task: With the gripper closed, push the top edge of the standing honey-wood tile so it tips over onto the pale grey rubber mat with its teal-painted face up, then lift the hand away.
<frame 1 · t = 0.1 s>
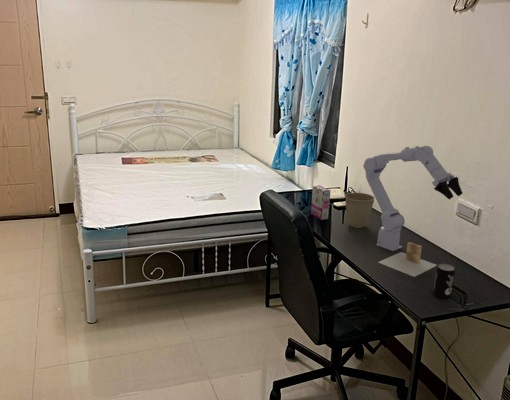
hand: (456, 196, 205), 32 cm above the table, tool tilted 50°, fingers open, 7 cm apart
wood tile: (412, 261, 219), resting on rubber mat
plant pot: (357, 225, 261), on the table
candy bar box: (319, 216, 274), on the table
beverage can: (441, 296, 190), on the table
rubber mat: (407, 264, 216), on the table
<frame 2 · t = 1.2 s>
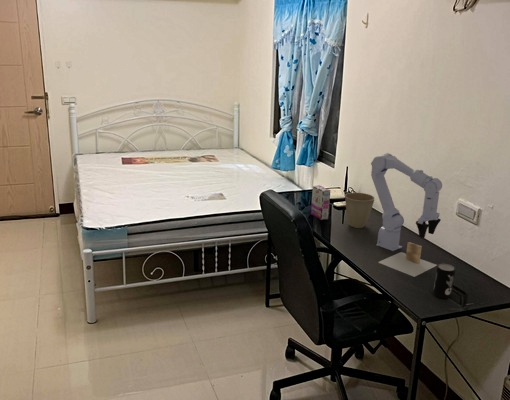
hand: (426, 235, 221), 10 cm above the table, tool pointing down, fingers open, 7 cm apart
nothing on the table moved.
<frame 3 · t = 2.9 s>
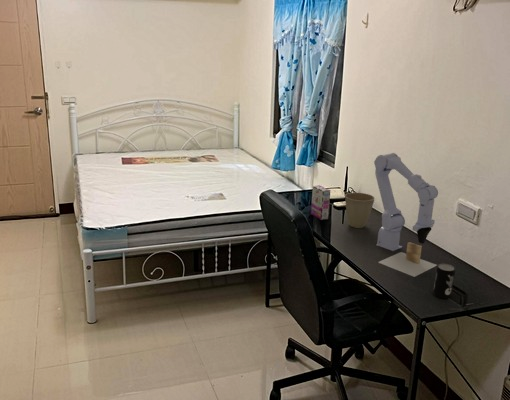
hand: (421, 242, 220), 8 cm above the table, tool pointing down, fingers closed
nothing on the table moved.
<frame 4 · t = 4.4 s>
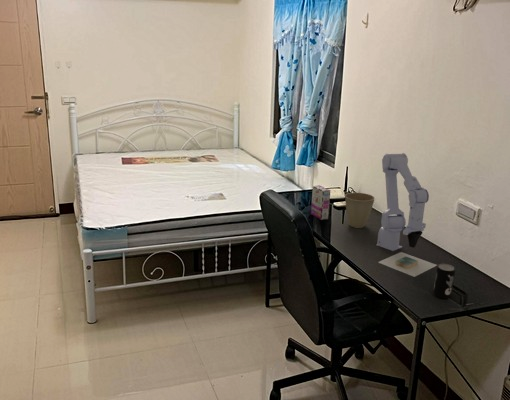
hand: (412, 246, 215), 8 cm above the table, tool pointing down, fingers closed
wood tile: (411, 260, 218), point 1 cm above the table, tilted 90°, touching rubber mat
everything else where it was.
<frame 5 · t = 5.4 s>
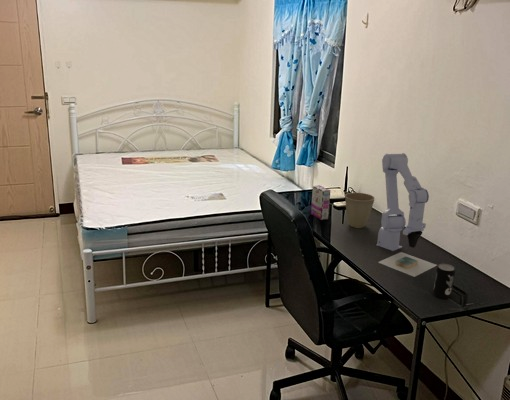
hand: (412, 246, 215), 8 cm above the table, tool pointing down, fingers closed
nothing on the table moved.
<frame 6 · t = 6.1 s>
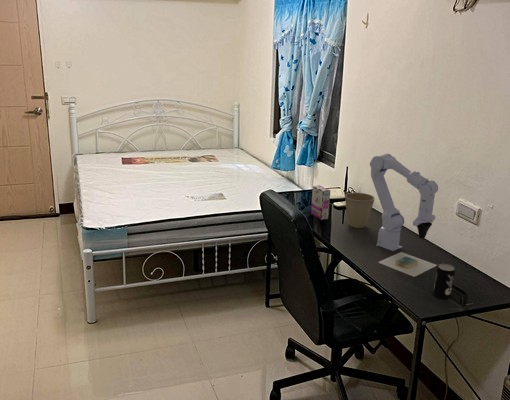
hand: (421, 237, 222), 9 cm above the table, tool pointing down, fingers closed
nothing on the table moved.
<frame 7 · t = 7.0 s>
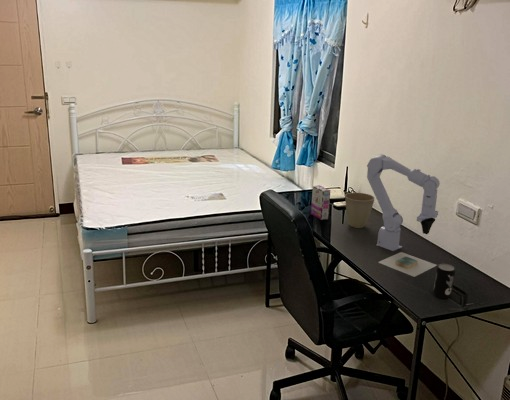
hand: (425, 233, 224), 10 cm above the table, tool pointing down, fingers closed
nothing on the table moved.
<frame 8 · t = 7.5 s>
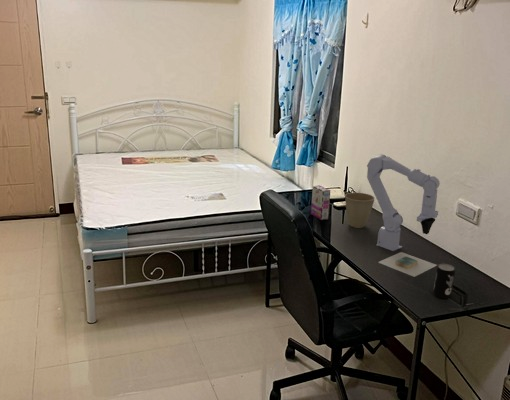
hand: (425, 233, 224), 10 cm above the table, tool pointing down, fingers closed
nothing on the table moved.
at the end: wood tile tilted 90°; wood tile inside the target area on the rubber mat (3.1 cm from its centre), point 1.2 cm above the rubber mat's base; wood tile touching rubber mat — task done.
